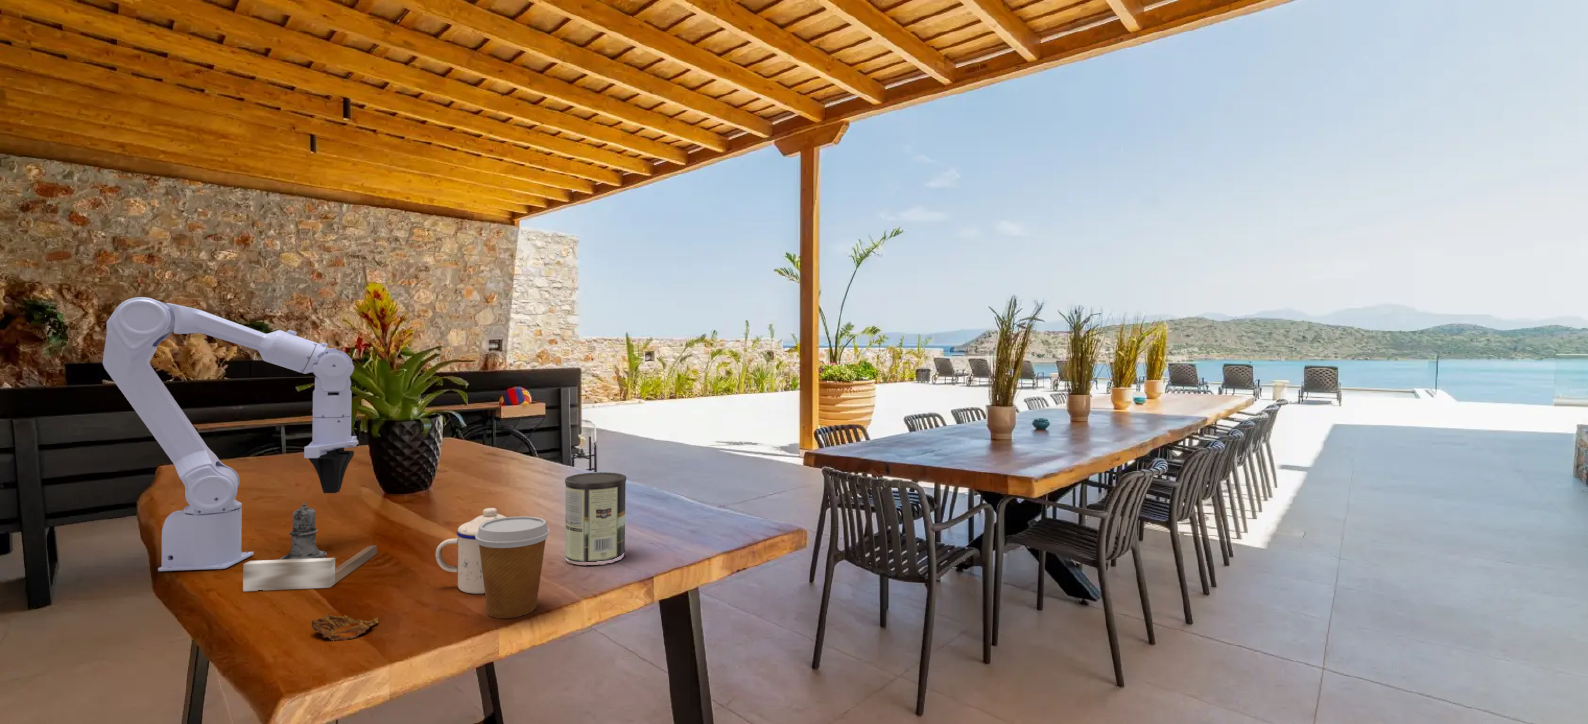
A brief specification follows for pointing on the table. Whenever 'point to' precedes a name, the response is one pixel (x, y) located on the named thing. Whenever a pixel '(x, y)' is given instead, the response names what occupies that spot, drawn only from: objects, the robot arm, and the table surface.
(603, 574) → the table surface
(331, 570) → the guide channel
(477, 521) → the teacup with lid
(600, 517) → the coffee can
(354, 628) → the leaf
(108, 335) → the robot arm
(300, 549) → the grey stone finial
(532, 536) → the disposable coffee cup
